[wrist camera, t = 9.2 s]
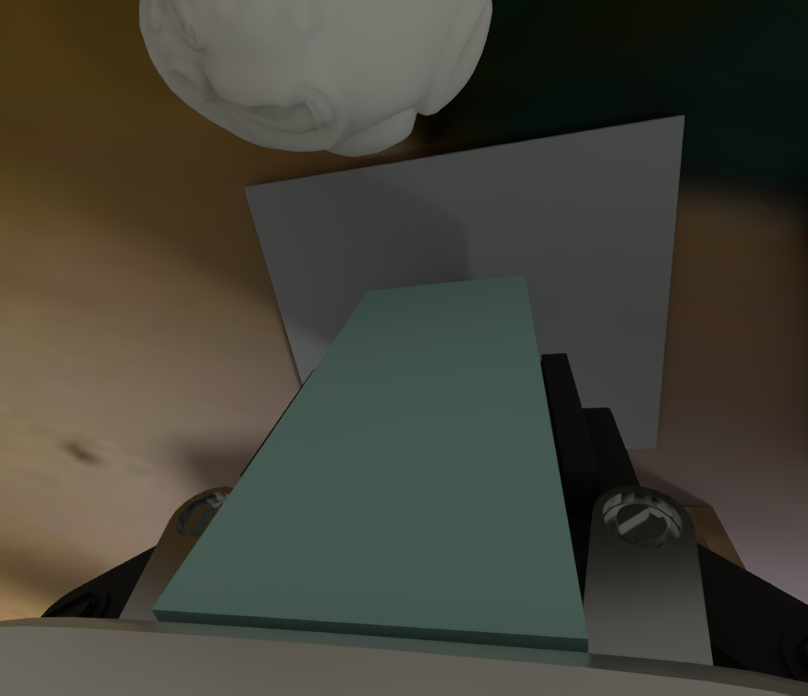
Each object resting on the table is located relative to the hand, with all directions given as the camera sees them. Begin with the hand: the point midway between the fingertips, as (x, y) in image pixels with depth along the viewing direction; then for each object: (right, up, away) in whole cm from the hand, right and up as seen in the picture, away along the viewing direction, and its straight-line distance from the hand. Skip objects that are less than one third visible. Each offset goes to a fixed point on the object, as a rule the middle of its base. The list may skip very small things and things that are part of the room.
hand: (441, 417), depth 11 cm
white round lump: (-2, +11, +2) cm, 11 cm away
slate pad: (+1, +3, +5) cm, 6 cm away
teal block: (+1, +1, +3) cm, 3 cm away
